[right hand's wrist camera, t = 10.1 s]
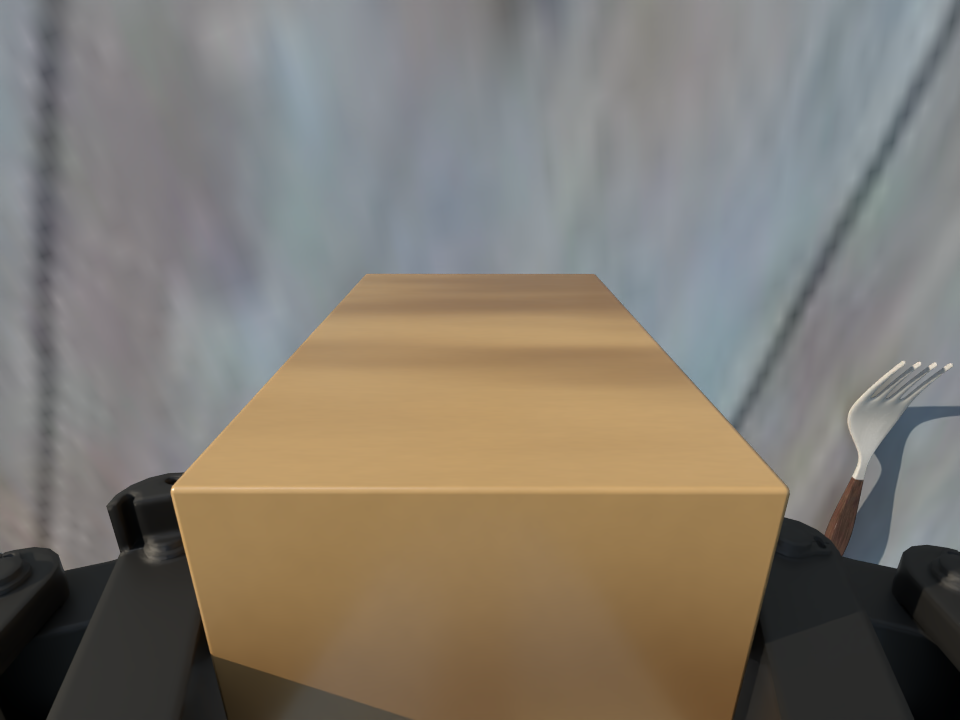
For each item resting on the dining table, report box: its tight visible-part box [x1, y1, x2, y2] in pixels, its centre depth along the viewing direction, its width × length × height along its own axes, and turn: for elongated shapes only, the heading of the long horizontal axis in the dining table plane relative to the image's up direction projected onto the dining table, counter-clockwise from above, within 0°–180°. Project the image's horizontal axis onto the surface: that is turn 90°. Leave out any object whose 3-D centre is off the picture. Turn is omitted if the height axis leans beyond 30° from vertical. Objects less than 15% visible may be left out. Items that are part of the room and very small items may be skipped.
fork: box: [825, 361, 953, 556], centre depth 27 cm, size 3×16×2 cm, turn 177°
